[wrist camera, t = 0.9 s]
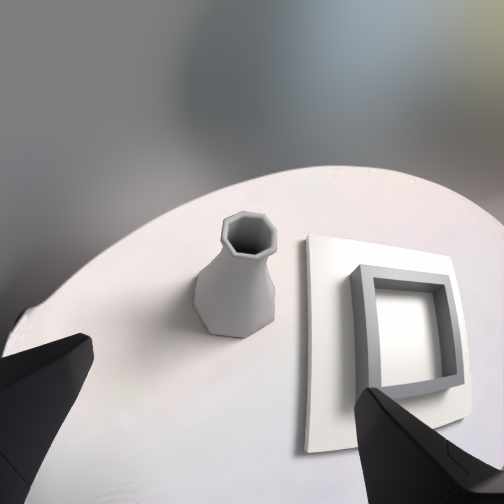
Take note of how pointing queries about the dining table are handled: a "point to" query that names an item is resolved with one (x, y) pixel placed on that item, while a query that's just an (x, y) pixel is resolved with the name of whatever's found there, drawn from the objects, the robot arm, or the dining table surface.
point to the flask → (239, 278)
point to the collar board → (381, 337)
